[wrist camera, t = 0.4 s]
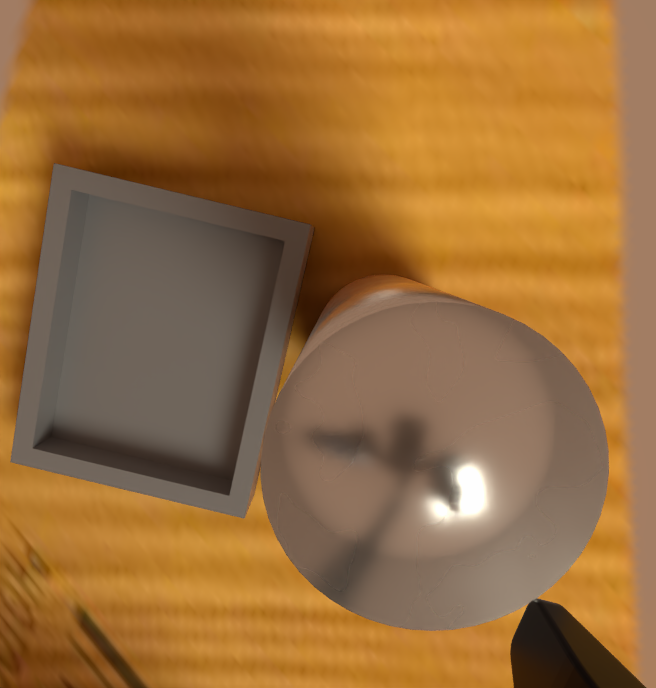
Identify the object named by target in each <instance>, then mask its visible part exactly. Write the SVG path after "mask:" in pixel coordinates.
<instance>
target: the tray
mask: <svg viewBox="0 0 656 688" xmlns="http://www.w3.org/2000/svg"><path fill="white" fill-rule="evenodd" d="M313 233H314V227H313V226H312V225H310V224H306V223H302V222H298V221H294V220H289V219H285V218H281V217H277V216H273V215H269V214H264V213H260V212H256V211H252V210H248V209H243V208H239V207H235V206H231V205H227V204H223V203H218V202H214V201H210V200H206V199H202V198H198V197H193V196H189V195H185V194H181V193H177V192H172V191H168V190H164V189H160V188H156V187H152V186H147V185H143V184H139V183H135V182H131V181H126V180H122V179H118V178H114V177H110V176H106V175H101V174H97V173H93V172H89V171H85V170H81V169H76V168H72V167H68V166H64V165H60V164H55V163H54V165H53V172H52V179H51V186H50V193H49V200H48V207H47V214H46V221H45V227H44V234H43V241H42V248H41V255H40V262H39V269H38V276H37V283H36V290H35V296H34V303H33V310H32V317H31V324H30V331H29V338H28V345H27V352H26V359H25V365H24V372H23V379H22V386H21V393H20V400H19V407H18V414H17V421H16V428H15V434H14V441H13V448H12V455H11V462H12V463H16V464H21V465H25V466H29V467H33V468H37V469H41V470H46V471H50V472H54V473H58V474H62V475H66V476H70V477H75V478H79V479H83V480H87V481H91V482H95V483H99V484H104V485H108V486H112V487H116V488H120V489H124V490H129V491H133V492H137V493H141V494H145V495H149V496H153V497H158V498H162V499H166V500H170V501H174V502H178V503H182V504H187V505H191V506H195V507H199V508H203V509H207V510H212V511H216V512H220V513H224V514H228V515H232V516H236V517H241V518H245V516H246V514H247V511H248V509H249V506H250V504H251V501H252V499H253V496H254V493H255V488H256V484H257V480H258V475H259V471H260V466H261V452H262V446H263V439H264V433H265V430H266V427H267V423H268V420H269V417H270V413H271V411H272V409H273V407H274V405H275V400H276V396H277V392H278V387H279V383H280V378H281V374H282V369H283V365H284V361H285V356H286V352H287V347H288V343H289V339H290V334H291V330H292V325H293V321H294V317H295V312H296V308H297V303H298V299H299V295H300V290H301V286H302V281H303V277H304V273H305V268H306V264H307V259H308V255H309V251H310V246H311V242H312V237H313Z"/></svg>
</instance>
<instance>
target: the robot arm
mask: <svg viewBox="0 0 656 688" xmlns="http://www.w3.org/2000/svg"><path fill="white" fill-rule="evenodd" d="M510 655H511V665H512V674H513V683H514V688H646V687H645V686H644V685H643V684H642V683H641V682H640V681H639V680H638V679H637V678H636V677H635V676H634V675H633V674H632V673H631V672H630V671H629V670H628V669H627V668H625V667H624V666H623V665H622V664H621V663H620V662H619V661H618V660H617V659H616V658H615V657H614V656H613V655H612V654H611V653H610V652H609V651H608V650H607V649H606V648H605V647H604V646H603V645H602V644H601V643H600V642H599V641H598V640H597V639H596V638H595V637H594V636H593V635H592V634H591V633H590V632H589V631H588V630H587V629H585V628H584V627H583V626H582V625H581V624H580V623H579V622H578V621H577V620H576V619H575V618H574V617H573V616H572V615H571V614H570V613H569V612H568V611H567V610H566V609H565V608H564V607H563V606H561V605H559V604H557V603H553V602H549V601H545V600H541V599H533V600H532V601H531V602H530V603H529V604H528V606H527V608H526V610H525V612H524V615H523V617H522V619H521V621H520V623H519V626H518V628H517V630H516V632H515V634H514V637H513V639H512V643H511V652H510Z"/></svg>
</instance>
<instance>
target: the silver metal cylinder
mask: <svg viewBox="0 0 656 688" xmlns="http://www.w3.org/2000/svg"><path fill="white" fill-rule="evenodd" d="M608 474H609V458H608V445H607V439H606V433H605V428H604V424H603V421H602V418H601V415H600V411H599V408H598V406H597V404H596V402H595V400H594V397H593V395H592V393H591V391H590V389H589V387H588V386H587V384H586V383H585V381H584V380H583V378H582V377H581V375H580V373H579V372H578V370H577V369H576V368H575V367H574V365H573V364H572V363H571V362H570V361H569V360H568V359H567V358H566V356H565V355H564V354H563V353H562V352H561V351H560V350H559V349H558V348H556V347H555V346H554V345H553V344H552V343H551V342H549V341H548V340H547V339H546V338H545V337H544V336H542V335H540V334H539V333H537V332H536V331H534V330H533V329H531V328H529V327H528V326H526V325H525V324H523V323H521V322H519V321H517V320H514V319H512V318H510V317H508V316H506V315H504V314H501V313H499V312H496V311H493V310H491V309H488V308H485V307H483V306H480V305H477V304H475V303H472V302H469V301H467V300H464V299H461V298H459V297H456V296H453V295H451V294H448V293H445V292H443V291H440V290H437V289H435V288H432V287H429V286H427V285H424V284H421V283H419V282H416V281H413V280H411V279H408V278H405V277H401V276H397V275H388V274H380V275H371V276H367V277H363V278H360V279H358V280H355V281H353V282H351V283H349V284H348V285H346V286H345V287H343V288H342V289H340V290H339V291H338V292H337V293H336V294H335V295H334V296H333V297H332V298H331V299H330V301H329V302H328V303H327V305H326V306H325V308H324V309H323V311H322V313H321V315H320V317H319V319H318V321H317V323H316V324H315V326H314V328H313V330H312V332H311V334H310V336H309V338H308V340H307V342H306V344H305V346H304V348H303V349H302V351H301V353H300V355H299V357H298V359H297V361H296V363H295V365H294V367H293V369H292V371H291V372H290V374H289V376H288V378H287V380H286V382H285V384H284V386H283V388H282V390H281V392H280V394H279V396H278V398H277V400H276V402H275V405H274V407H273V409H272V411H271V413H270V417H269V420H268V423H267V427H266V430H265V433H264V439H263V446H262V452H261V484H262V492H263V499H264V503H265V506H266V510H267V514H268V518H269V520H270V523H271V525H272V528H273V530H274V532H275V535H276V537H277V539H278V541H279V542H280V544H281V546H282V548H283V549H284V551H285V553H286V555H287V556H288V557H289V559H290V560H291V561H292V563H293V564H294V565H295V567H296V568H297V569H298V570H299V572H300V573H301V574H302V575H303V576H304V577H305V578H306V579H307V580H308V581H309V582H310V583H311V584H312V585H313V586H314V587H315V588H317V589H318V590H319V591H320V592H322V593H323V594H324V595H326V596H327V597H328V598H329V599H331V600H332V601H334V602H336V603H337V604H339V605H341V606H342V607H344V608H346V609H347V610H349V611H351V612H353V613H356V614H358V615H360V616H362V617H365V618H367V619H369V620H373V621H376V622H379V623H382V624H386V625H389V626H394V627H400V628H405V629H412V630H429V631H436V630H453V629H459V628H465V627H470V626H476V625H479V624H482V623H486V622H489V621H492V620H496V619H498V618H500V617H503V616H505V615H507V614H509V613H512V612H514V611H516V610H518V609H520V608H521V607H523V606H525V605H526V604H528V603H530V602H531V601H532V600H533V599H536V598H538V597H539V596H540V595H541V594H543V593H544V592H545V591H547V590H548V589H549V588H550V587H552V586H553V585H554V584H555V583H556V582H557V581H558V580H559V579H560V578H561V577H562V576H563V575H564V574H565V573H566V572H567V571H568V570H569V568H570V567H571V566H572V565H573V563H574V562H575V561H576V560H577V558H578V557H579V556H580V554H581V553H582V551H583V549H584V548H585V546H586V544H587V543H588V541H589V539H590V538H591V536H592V534H593V531H594V529H595V527H596V524H597V522H598V520H599V517H600V515H601V511H602V507H603V504H604V500H605V496H606V490H607V482H608Z"/></svg>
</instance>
